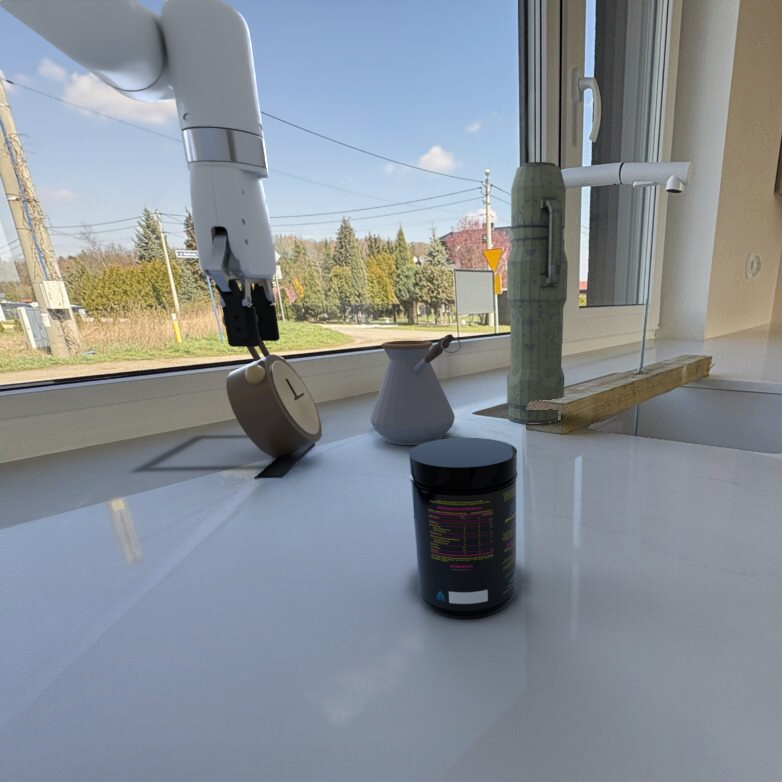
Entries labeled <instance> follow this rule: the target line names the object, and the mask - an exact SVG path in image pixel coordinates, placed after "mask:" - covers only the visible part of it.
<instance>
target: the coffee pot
mask: <svg viewBox="0 0 782 782" xmlns="http://www.w3.org/2000/svg"><path fill="white" fill-rule="evenodd" d="M453 339H454V340H456V341H457V342H458V345H459V347H458V349H456V350H454V351H448V350H447V349H448V348H449V347H450V344H451V343H452V341H453ZM380 346H381V348H383V349H384V351H385V353H386V355H387V357H388V358H389V360H388V363H387V366H386V369H385V373H384V376H383V378H382V381H381V385H380V387H379V391H378V394H377V397H376V400H375V403H374V406H373V409H372V412H371V415H370V420H369V421H370V423H371V425H372V428H373V429H374V431H375V432H376V433H378V434H379V435H380V436H381V437H383V438H385V440H386V442H388V443H390V444H394V445H401V446H418V445H420V444H423V443H426V442H430V441H435V440H441V439H443V435H446V434H447V433H448V432H449V431H450V430H451V428H452V427H453V424H454V423H455V419H456V417H455V413H454V410H453V409H452V407H451V404H450V401H449V400H448V397H447V396H446V394H445V391H444V390H443V387H442V385H441V383H440V381H439V378H438V376H437V374H436V372H435V370H434V368H433V365H432V361H433V360H435V359H436V358H438V357H439V356H440V355H442V354H443V352H446V353H448V354H455V353H457V352H458V351H459V350H461V348H462V347H461V346H462V343H461V342H460V340H459V339H458V338H457V337H455V336H453V334H452V333H450V334H447V335H445V336H443V337H441V338H439V340H438V342H437V343H435V344H434V343H433V342H432V341H428V340H394V341H386V342H383V343H381V345H380Z"/></svg>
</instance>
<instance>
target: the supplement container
mask: <svg viewBox="0 0 782 782" xmlns="http://www.w3.org/2000/svg"><path fill="white" fill-rule="evenodd" d="M408 458H409V471H410V472H409V473H410V474H409V481H410V482H411V493H412V509H413V522H414V536H415V550H416V565H417V577H418V579H417V580H418V593H419V596H420V598H421V600H422V602H423V603H424V605H425V606H426V607H427V608H428V609H430V610H431V611H432V612H434V613H435V614H437V615H440V616H443V617H446V618H451V619H458V620H472V619H481V618H484V617H489V616H491V615H494V614H496V613H498V612H500V611H502V610H504V608H505V607H507V606H508V605H509V604H510V602H511V601H512V600H513V598H514V596H515V595H516V591H517V479H518V450H517V448H516V447H515V446H514V445H513V444H510V443H509V442H505V441H502V440H497V439H492V438H485V437H484V438H483V437H451V438H450V437H449V438H441V439H440V440H435V441H430V442H426V443H423V444H420V445H415V446H414V447H412V448H411V449H410V450H409V452H408Z"/></svg>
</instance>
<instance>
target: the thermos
mask: <svg viewBox="0 0 782 782" xmlns="http://www.w3.org/2000/svg"><path fill="white" fill-rule="evenodd" d="M566 195H567V189H566V184H565V181H564V177H563V172H562V168H561V167H560V166H558V165H557V164H556V163H553V162H549V161H548V162H547V161H532V162H531V161H530V162H525V163H522V164H521V166H519V167H517V168H516V171H515V173H514V178H513V181H512V185H511V190H510V198H511V199H510V208H511V209H510V212H511V213H510V221H511V222H510V226H511V227H510V228H511V229H512V239H511V240H510V248H511V249H510V251H509V254H508V257H507V262H506V301H507V303H508V305H509V308H510V309H509V311H510V313H509V315H510V319H509V320H510V325H509V326H510V327H509V328H510V331H509V332H510V335H509V336H510V339H509V340H510V341H509V344H510V345H509V347H510V354H509V355H510V356H509V357H510V367H509V370H508V373H507V376H506V403H507V405H508V414H507V419H508V420H509V422H512V423H516V424H522V425H526V424H525V423H549V422H555V421H558V411H559V410H553V409H548V410H526V407H527V404H528V403H529V402H530V401H535V400H537V401H539V400H541V401H542V400H552V399H558V398H562V397H564V398H565V374H564V371H563V367H562V356H563V355H562V354H563V329H564V327H563V326H564V325H563V324H564V323H563V322H564V307H565V305H566V302H567V301H568V300H567V299H568V269H569V262H568V259H567V258H568V257H567V255H566V251H565V239H564V229H565V227H566V197H567V196H566Z"/></svg>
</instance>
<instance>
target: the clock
mask: <svg viewBox="0 0 782 782" xmlns="http://www.w3.org/2000/svg"><path fill="white" fill-rule="evenodd" d="M256 316H257V315H256ZM221 322H222V324H223V326H224V327H225V321H224V315H223V314H222V318H221ZM257 322H258V317H257ZM257 347H258V348H259V350H260V352H261V354H262V355H263V357H261V356H260V354H259V352H258V350H257V349H256V347H246V348H247V350H248V353H250V355H251V357H252V359H253V360H254V361H252V362H250V363H248V364H246V365H244V366H241V367H239V368H237V369H235V370H233V371H230V372H229V374H228V375H227V377H226V383H225V384H226V385H225V388H226V394H227V395H226V396H227V398H228V402H229V405H230V408H231V410H232V413H233V415H234V416H235V418H236V420H237V422H238V423H239V425H240V427H241V428H242V430H243V431H244V433H245V435H246V436H247V437H248V438H249V439H250V441H251V442H252V443H253V444H254V446H256V447H257V448H258V450H260V451H262V452H263V453H264V454H266V455H267V456H269V457H272V458H275V457H276V458H280V457H283V456H285V455H288V454H290V453H292V452H295V451H297V450H299V449H301V448H304V447H306V446H308V445H311V444H313V443H315V444H316V443H317V442H319V441H320V440H321V438H322V434H323V432H322V431H323V429H322V420H321V418H320V415H319V411H318V409H317V406H316V403H315V401H314V399H313V397H312V394H311V393H310V391H309V390H308V388H307V386H306V384H305V383H304V381H303V379H302V378H301V377H300V375H299V374H298V372H297V371H296V370H295V369H294V368H293V367H292V366H291V364H290V363H288V361H287V359H285V358H284V357H283V356H279V355H277V354H273V353H270V351H269V350H268V347H267V346H266V344H265V343H264V341H262V339H261V337H260V345H259V346H257Z"/></svg>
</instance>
